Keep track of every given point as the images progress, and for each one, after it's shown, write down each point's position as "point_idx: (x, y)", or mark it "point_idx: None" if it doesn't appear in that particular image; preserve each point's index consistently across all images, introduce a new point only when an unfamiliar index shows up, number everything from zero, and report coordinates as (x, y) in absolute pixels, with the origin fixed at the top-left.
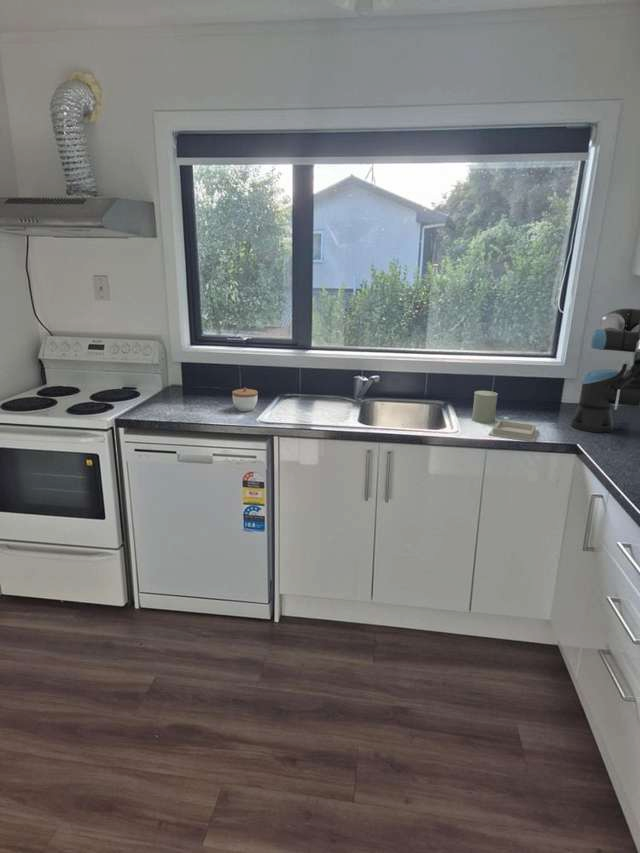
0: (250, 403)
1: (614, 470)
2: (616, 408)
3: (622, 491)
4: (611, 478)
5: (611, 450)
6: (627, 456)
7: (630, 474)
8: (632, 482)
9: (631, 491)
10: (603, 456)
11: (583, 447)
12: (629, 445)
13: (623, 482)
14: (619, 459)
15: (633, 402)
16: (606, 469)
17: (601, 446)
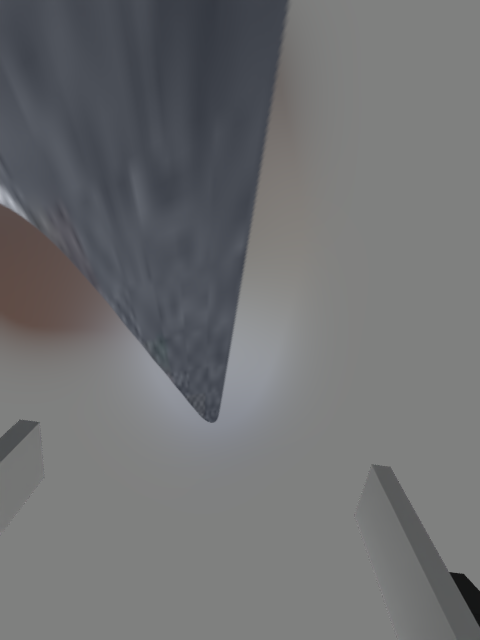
0: None
1: (185, 365)
2: (38, 449)
3: (203, 418)
4: (182, 392)
5: (155, 206)
6: (225, 262)
7: (221, 374)
8: (221, 397)
9: (217, 416)
10: (140, 289)
11: (31, 211)
12: (263, 13)
13: (205, 399)
14: (195, 299)
15: None
16: (167, 364)
17: (93, 152)
